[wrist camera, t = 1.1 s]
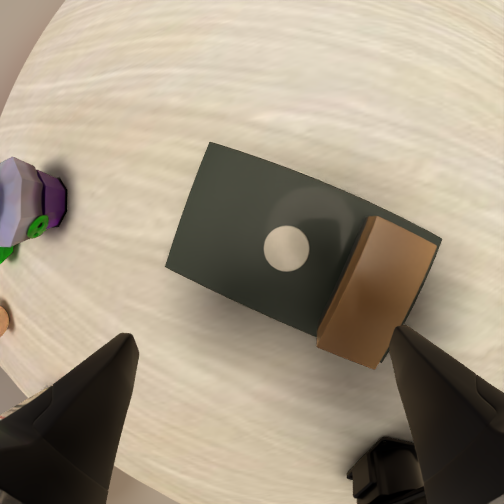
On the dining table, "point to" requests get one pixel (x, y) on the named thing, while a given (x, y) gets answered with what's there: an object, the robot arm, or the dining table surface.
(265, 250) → the beige disc
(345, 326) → the brown rectangular block
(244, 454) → the dining table surface
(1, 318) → the egg
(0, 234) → the potion bottle
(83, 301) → the dining table surface
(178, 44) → the dining table surface
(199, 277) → the chalkboard
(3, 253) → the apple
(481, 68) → the dining table surface
